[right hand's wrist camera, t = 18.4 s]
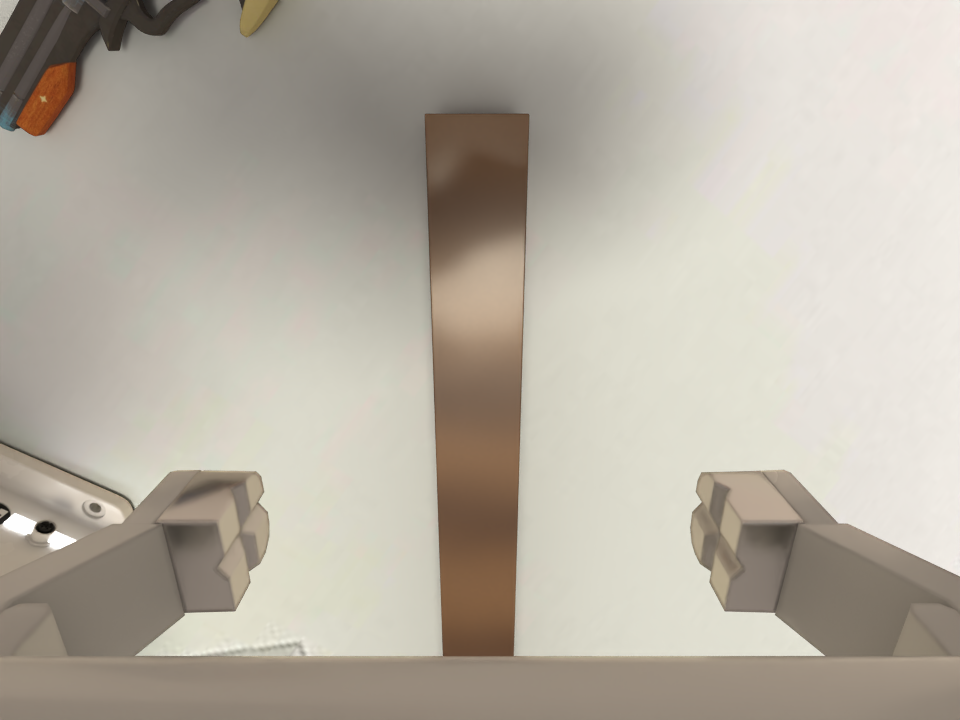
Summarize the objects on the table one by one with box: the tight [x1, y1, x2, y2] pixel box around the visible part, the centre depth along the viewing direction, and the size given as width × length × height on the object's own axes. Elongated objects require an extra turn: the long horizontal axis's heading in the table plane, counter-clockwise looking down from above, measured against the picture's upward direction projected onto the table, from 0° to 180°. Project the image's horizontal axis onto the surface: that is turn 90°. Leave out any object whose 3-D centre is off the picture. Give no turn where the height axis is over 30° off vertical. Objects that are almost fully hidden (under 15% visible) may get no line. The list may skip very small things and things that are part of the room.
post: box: [425, 114, 529, 656], centre depth 42 cm, size 66×5×8 cm, turn 0°
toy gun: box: [0, 0, 278, 136], centre depth 31 cm, size 3×19×10 cm
